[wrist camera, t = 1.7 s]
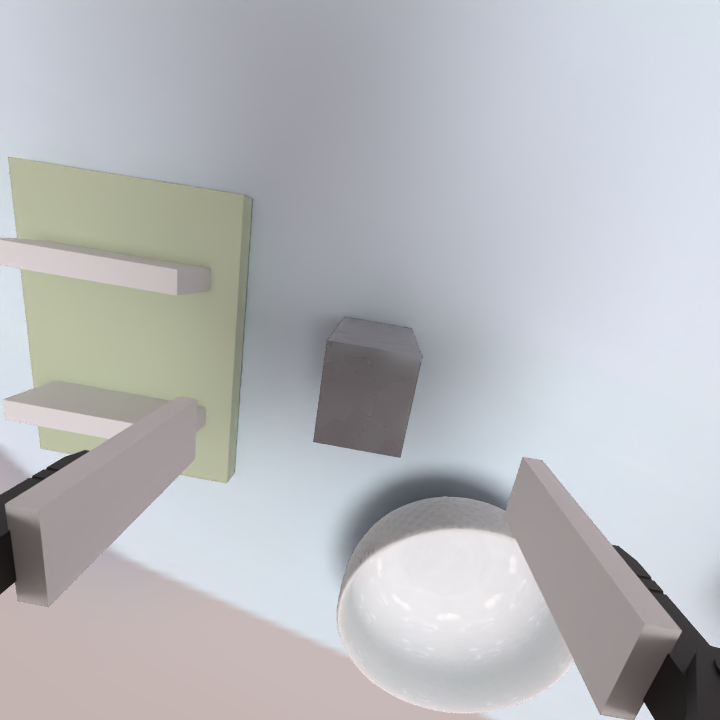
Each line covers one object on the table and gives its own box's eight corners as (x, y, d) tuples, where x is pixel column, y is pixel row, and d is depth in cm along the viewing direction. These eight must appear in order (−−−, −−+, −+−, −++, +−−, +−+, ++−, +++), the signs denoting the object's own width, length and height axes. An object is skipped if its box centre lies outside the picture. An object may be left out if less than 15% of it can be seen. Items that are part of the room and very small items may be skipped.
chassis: (30, 163, 24) (-69, 135, 19) (252, 198, 24) (214, 180, 19) (57, 439, 30) (-13, 476, 25) (234, 472, 30) (201, 517, 25)
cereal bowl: (487, 432, 27) (520, 488, 21) (574, 581, 31) (627, 673, 24) (311, 518, 31) (289, 590, 24) (405, 644, 34) (409, 740, 27)
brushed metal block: (345, 316, 26) (327, 339, 18) (411, 328, 26) (422, 356, 18) (333, 391, 27) (313, 441, 20) (396, 402, 27) (400, 457, 20)
